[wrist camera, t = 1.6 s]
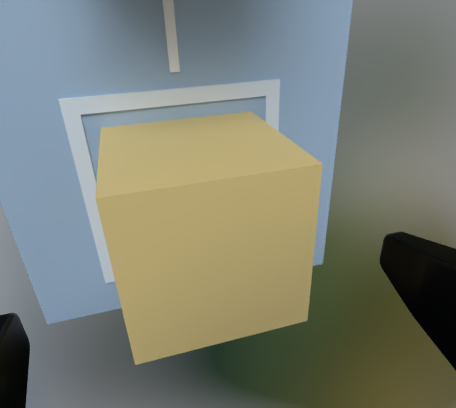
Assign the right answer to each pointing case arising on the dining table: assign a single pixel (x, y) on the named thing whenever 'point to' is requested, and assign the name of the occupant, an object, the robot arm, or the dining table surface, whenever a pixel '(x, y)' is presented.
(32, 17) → the blueprint sheet
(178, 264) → the ochre block
